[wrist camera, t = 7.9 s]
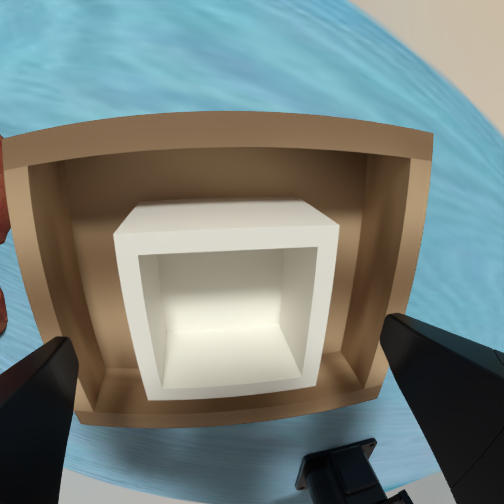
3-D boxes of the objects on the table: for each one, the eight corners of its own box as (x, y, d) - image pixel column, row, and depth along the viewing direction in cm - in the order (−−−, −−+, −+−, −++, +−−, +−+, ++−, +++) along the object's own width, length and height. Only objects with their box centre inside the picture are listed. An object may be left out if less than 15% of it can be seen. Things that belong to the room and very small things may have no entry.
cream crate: (287, 326, 14) (315, 386, 11) (156, 335, 13) (147, 400, 10) (296, 196, 12) (339, 225, 8) (139, 201, 11) (113, 234, 7)
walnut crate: (346, 351, 17) (376, 398, 13) (97, 369, 15) (81, 424, 11) (376, 129, 13) (433, 133, 9) (52, 134, 10) (1, 139, 7)
